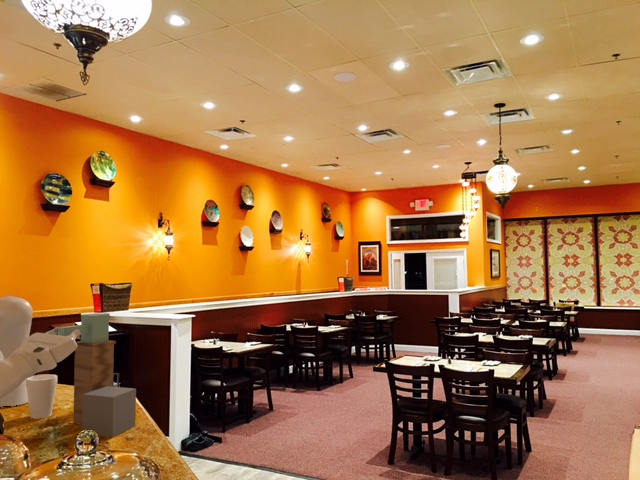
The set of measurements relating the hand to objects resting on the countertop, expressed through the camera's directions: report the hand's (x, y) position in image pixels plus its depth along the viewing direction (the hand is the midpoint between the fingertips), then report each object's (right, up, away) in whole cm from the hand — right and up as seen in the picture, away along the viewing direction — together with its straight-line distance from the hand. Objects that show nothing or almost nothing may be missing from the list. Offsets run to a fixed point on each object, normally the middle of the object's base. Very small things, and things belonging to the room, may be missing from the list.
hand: (69, 329), depth 167 cm
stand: (+5, -31, +7) cm, 32 cm away
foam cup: (-16, -32, +12) cm, 37 cm away
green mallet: (+3, -5, +4) cm, 7 cm away
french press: (+1, -32, +22) cm, 39 cm away
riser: (+13, -31, -2) cm, 34 cm away
